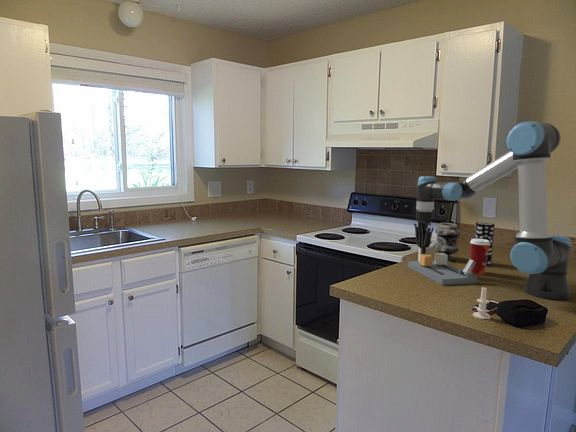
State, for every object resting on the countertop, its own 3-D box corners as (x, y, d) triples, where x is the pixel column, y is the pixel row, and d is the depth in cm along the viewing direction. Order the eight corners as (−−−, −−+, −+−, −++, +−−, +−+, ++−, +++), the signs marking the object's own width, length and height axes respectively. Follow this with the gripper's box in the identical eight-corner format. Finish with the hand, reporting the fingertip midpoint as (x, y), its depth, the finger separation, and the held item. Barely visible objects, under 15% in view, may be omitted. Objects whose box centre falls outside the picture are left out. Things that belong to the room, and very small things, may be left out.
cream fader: (447, 264, 188) (447, 255, 188) (439, 265, 188) (439, 255, 187) (442, 262, 192) (442, 252, 192) (434, 262, 191) (434, 253, 191)
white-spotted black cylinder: (473, 265, 200) (477, 224, 197) (470, 261, 208) (474, 221, 205) (492, 266, 198) (496, 225, 195) (488, 262, 206) (492, 222, 203)
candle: (488, 314, 138) (491, 284, 137) (492, 320, 133) (495, 289, 132) (471, 312, 139) (474, 282, 138) (474, 318, 134) (477, 287, 133)
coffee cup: (489, 275, 183) (492, 242, 181) (469, 274, 185) (472, 241, 182) (484, 270, 191) (487, 238, 189) (465, 269, 193) (468, 237, 190)
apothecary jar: (460, 262, 205) (463, 226, 202) (435, 261, 207) (437, 225, 204) (454, 256, 217) (457, 222, 214) (430, 255, 219) (433, 221, 216)
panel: (476, 283, 172) (477, 272, 171) (441, 285, 168) (442, 274, 168) (438, 265, 199) (438, 256, 198) (407, 266, 195) (408, 257, 195)
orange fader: (432, 265, 186) (432, 256, 185) (424, 266, 185) (424, 256, 184) (427, 263, 190) (428, 253, 189) (419, 263, 189) (420, 254, 188)
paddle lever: (468, 276, 172) (476, 262, 172) (465, 275, 172) (474, 260, 172) (463, 274, 175) (471, 260, 175) (460, 272, 175) (469, 258, 175)
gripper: (440, 212, 182) (436, 264, 186) (424, 208, 195) (421, 257, 198) (424, 212, 181) (421, 265, 184) (410, 208, 193) (407, 258, 197)
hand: (421, 261), depth 191 cm, fingers closed
